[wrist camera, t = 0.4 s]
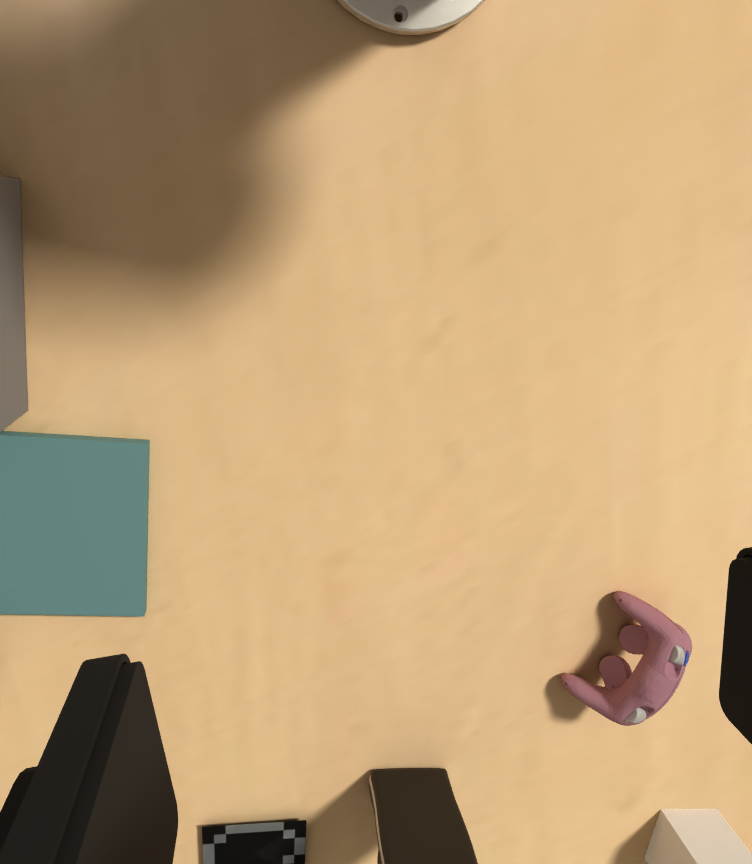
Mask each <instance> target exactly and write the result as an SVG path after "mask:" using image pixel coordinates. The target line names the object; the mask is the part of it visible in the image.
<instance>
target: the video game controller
mask: <svg viewBox="0 0 752 864" xmlns="http://www.w3.org/2000/svg"><path fill="white" fill-rule="evenodd" d="M613 597H614V600H615V602H616V603H617V605H618V606H619V607H620V608H621V609H622V610H623V611H624V612H625V613H627V614H628V615H629V616H631V617H632V618H633V619H635V620H636V621H637V622H638V623H639V624H640V625H641V626H640V625H626V626H624V627H623V628H622V630H621V632H620V635H619V642H620V644H621V646H622V648H623V649H624V650H625V651H627V652H629V653H632V654H643V656H642V658H641V660H640V661H639V663H638V665H637V666H636V668H635V670H634V671H633V672H631V668H630V666H629V664H628V663H627V662H626V661H625V660H624V659H623V658H621V657H619V656H606V657H605V658H603V659H602V660H601V662H600V664H599V671H600V674H601V676H602V678H603V680H604V683H605V687H601V686H597V685H594V684H592V683H590V682H588V681H586V680H584V679H582V678H580V677H578V676H575V675H573V674H567V673H564V674H562V676H561V681H562V683H563V685H564V686H565V687H566V689H567V690H568V691H569V692H570V693H571V694H572V695H573V696H575V697H576V698H578V699H579V700H580V701H582V702H583V703H584V704H586V705H588V706H589V707H591V708H592V709H594V710H595V711H597V712H598V713H600V714H601V715H603V716H604V717H606V718H608V719H610V720H611V721H613V722H616V723H618V724H621V725H627V726H629V725H636V724H639V723H641V722H643V721H644V720H645V719H647V718H649V717H651V716H652V715H654V714H655V713H657V712H658V711H659V710H660V709H661V708H662V707H663V706H664V705H665V704H666V703H667V702H668V701H669V699H670V698H671V697H672V695H673V694H674V692H675V690H676V689H677V687H678V685H679V683H680V681H681V679H682V676H683V674H684V671H685V667H686V664H687V663H688V660H689V657H690V655H691V651H692V642H691V639H690V636H689V635H688V633H687V632H686V631H685V630H684V629H683V628H682V627H681V626H680V625H678V624H676V623H674V622H673V621H672V620H671V619H669V618H668V617H667V616H666V615H664V614H663V613H662V612H660V611H659V610H657V609H656V608H654V607H653V606H651V605H649V604H648V603H646V602H644V601H643V600H641V599H639V598H637V597H635V596H633V595H631V594H628V593H626V592H622V591H617V592H615V593H614V595H613Z"/></svg>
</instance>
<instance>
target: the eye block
mask: <svg viewBox="0 0 752 864" xmlns="http://www.w3.org/2000/svg"><path fill="white" fill-rule="evenodd" d="M27 411H28V392H27V364H26V336H25V307H24V279H23V251H22V223H21V194H20V179H16V178H11V177H5V176H0V432H1V431H2V430H3V429H5V428H6V427H7V426H9V425H10V424H11V423H12V422H14V421H15V420H16V419H18V418H19V417H20V416H22V415H23V414H24V413H25V412H27Z"/></svg>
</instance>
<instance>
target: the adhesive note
mask: <svg viewBox="0 0 752 864" xmlns="http://www.w3.org/2000/svg"><path fill="white" fill-rule="evenodd" d="M644 859H645V860H646V862H647V864H752V854H751V853H750V851H749V850H748V849H747V848H746V846H745V845H744V844H743V842H742V841H741V840H740V838H739V837H738V836H737V834H736V833H735V832H734V830H733V829H732V828H731V827H730V825H729V824H728V823H727V821H726V820H725V819H724V817H723V816H722V815H721V813H720V812H719V811H718V809H717V808H715V809H661V810H660V813H659V816H658V819H657V822H656V825H655V828H654V831H653V834H652V837H651V839H650V842H649V845H648V848H647V851H646V854H645V857H644Z"/></svg>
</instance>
